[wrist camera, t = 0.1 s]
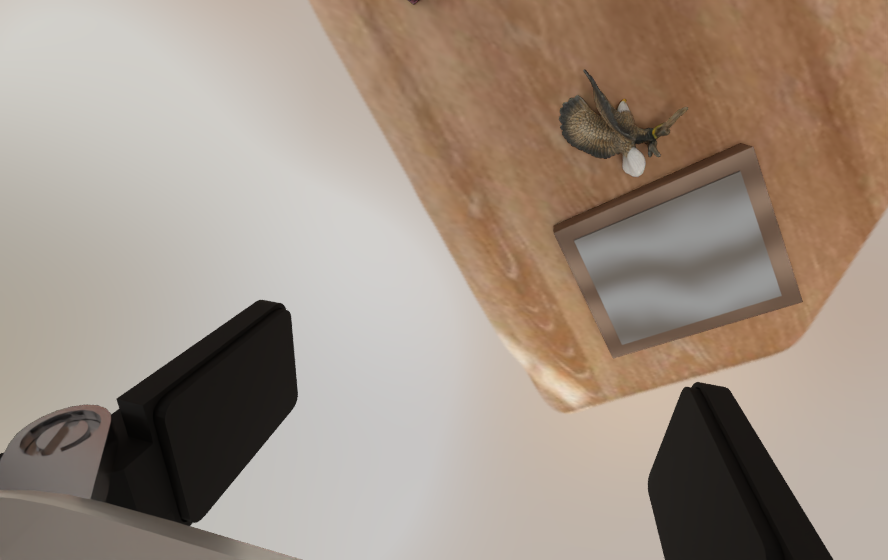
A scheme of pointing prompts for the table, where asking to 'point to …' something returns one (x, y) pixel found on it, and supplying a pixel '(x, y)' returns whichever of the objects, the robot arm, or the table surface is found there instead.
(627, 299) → the picture frame
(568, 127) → the eagle figurine
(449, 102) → the table surface
